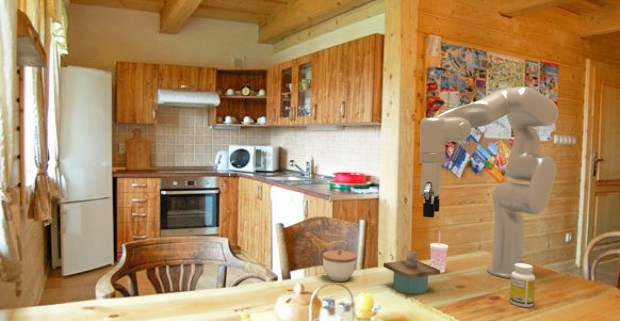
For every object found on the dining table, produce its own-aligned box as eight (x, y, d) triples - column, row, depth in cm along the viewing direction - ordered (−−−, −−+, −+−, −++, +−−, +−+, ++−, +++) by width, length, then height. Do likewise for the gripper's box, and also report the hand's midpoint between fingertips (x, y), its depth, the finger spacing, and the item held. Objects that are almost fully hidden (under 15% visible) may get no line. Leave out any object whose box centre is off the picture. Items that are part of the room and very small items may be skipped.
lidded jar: (331, 271, 151) (332, 243, 151) (360, 277, 146) (361, 248, 145) (316, 279, 142) (317, 250, 141) (346, 286, 136) (347, 256, 136)
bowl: (412, 281, 143) (413, 264, 143) (433, 291, 134) (434, 273, 134) (386, 284, 139) (387, 267, 138) (407, 295, 130) (408, 277, 130)
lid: (414, 263, 144) (414, 246, 144) (439, 274, 133) (440, 255, 133) (383, 266, 139) (384, 249, 139) (407, 278, 128) (408, 259, 128)
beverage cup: (449, 273, 152) (451, 233, 152) (430, 272, 153) (432, 232, 152) (444, 268, 158) (446, 229, 158) (427, 267, 159) (429, 228, 158)
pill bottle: (528, 300, 129) (530, 262, 129) (537, 308, 123) (539, 269, 122) (506, 298, 130) (508, 261, 129) (514, 306, 124) (516, 267, 123)
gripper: (424, 156, 145) (424, 208, 146) (414, 160, 129) (413, 218, 130) (448, 157, 142) (447, 210, 143) (440, 160, 126) (439, 220, 127)
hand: (431, 214), depth 137 cm, fingers open, 9 cm apart
